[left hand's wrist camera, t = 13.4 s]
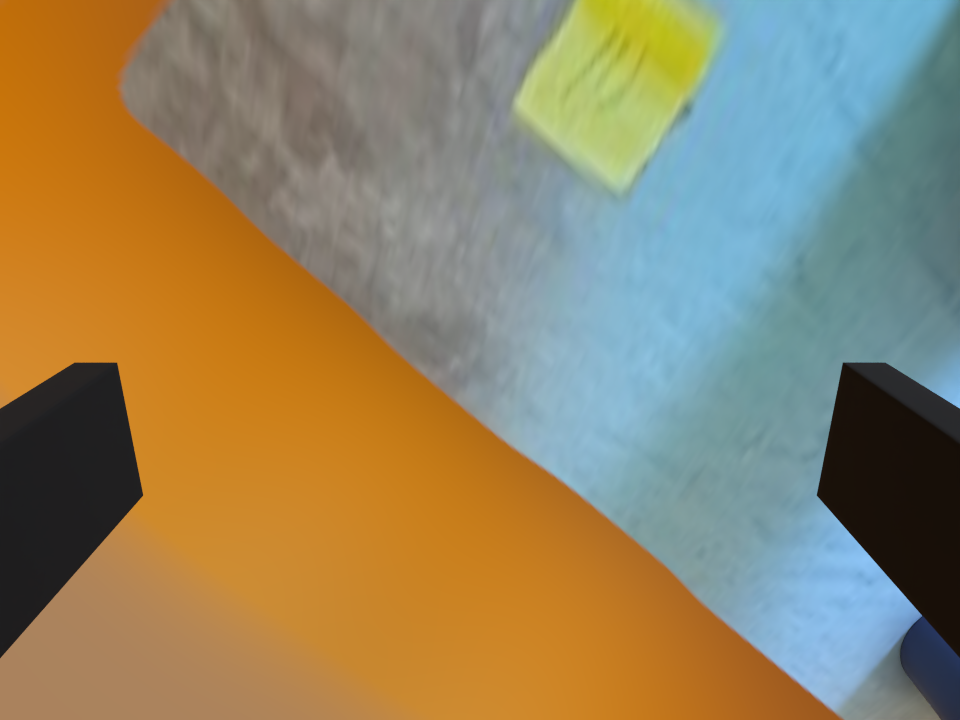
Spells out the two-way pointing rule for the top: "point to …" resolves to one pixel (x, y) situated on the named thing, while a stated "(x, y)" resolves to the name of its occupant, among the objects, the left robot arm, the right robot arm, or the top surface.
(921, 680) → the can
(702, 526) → the top surface
